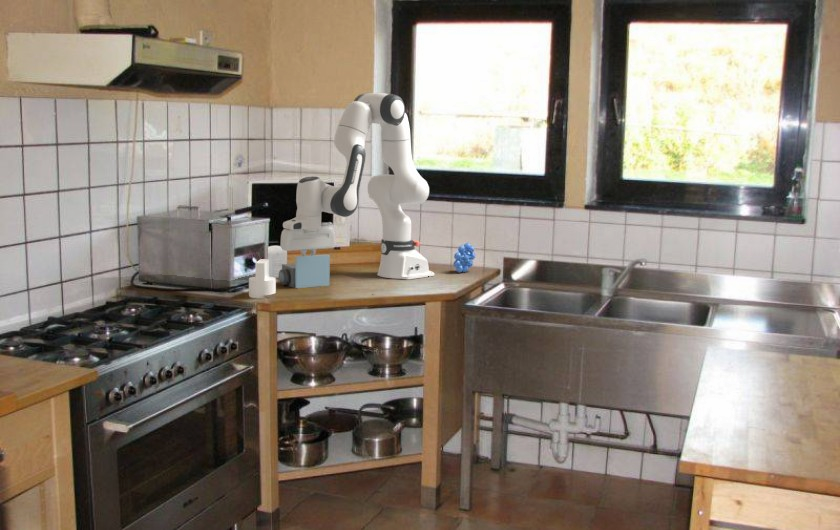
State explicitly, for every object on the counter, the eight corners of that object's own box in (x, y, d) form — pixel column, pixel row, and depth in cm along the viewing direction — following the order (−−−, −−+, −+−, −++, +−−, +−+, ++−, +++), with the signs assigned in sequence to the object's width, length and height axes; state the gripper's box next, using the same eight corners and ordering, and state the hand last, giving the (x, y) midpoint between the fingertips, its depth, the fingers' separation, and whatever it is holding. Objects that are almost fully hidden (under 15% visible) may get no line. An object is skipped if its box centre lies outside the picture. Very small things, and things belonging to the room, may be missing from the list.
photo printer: (281, 276, 352) (282, 244, 350) (288, 277, 349) (288, 245, 347) (259, 279, 345) (259, 246, 343) (265, 280, 342) (265, 247, 340)
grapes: (466, 269, 379) (467, 240, 377) (478, 272, 374) (479, 242, 372) (446, 272, 371) (447, 242, 369) (458, 274, 366) (459, 244, 364)
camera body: (316, 283, 339) (317, 259, 338) (328, 287, 332) (328, 263, 331) (276, 286, 331) (276, 262, 329) (286, 291, 323) (287, 266, 322)
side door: (328, 286, 331) (328, 254, 329) (329, 286, 330) (329, 254, 328) (295, 289, 324) (295, 256, 322) (296, 289, 323) (296, 257, 321)
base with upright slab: (273, 299, 310) (273, 263, 308) (246, 298, 310) (246, 262, 308) (277, 293, 319) (277, 259, 317) (251, 292, 319) (251, 258, 317)
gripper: (330, 220, 334) (330, 258, 337) (278, 223, 323) (278, 262, 325) (339, 222, 329) (338, 261, 331) (286, 225, 318) (286, 265, 320)
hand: (308, 261), depth 328 cm, fingers closed
